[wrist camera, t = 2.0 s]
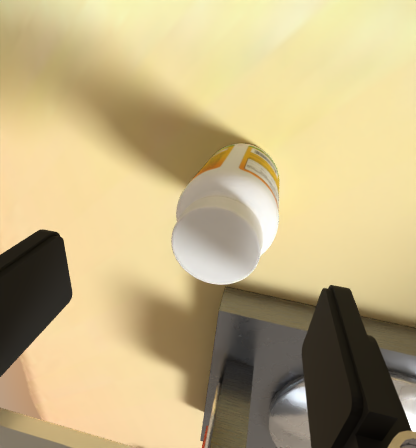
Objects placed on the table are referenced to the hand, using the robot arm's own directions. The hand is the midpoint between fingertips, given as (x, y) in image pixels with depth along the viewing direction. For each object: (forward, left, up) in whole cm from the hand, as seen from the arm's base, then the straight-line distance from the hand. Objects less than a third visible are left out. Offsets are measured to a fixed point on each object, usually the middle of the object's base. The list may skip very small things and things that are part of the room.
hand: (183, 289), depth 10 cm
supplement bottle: (-1, 0, -13) cm, 13 cm away
